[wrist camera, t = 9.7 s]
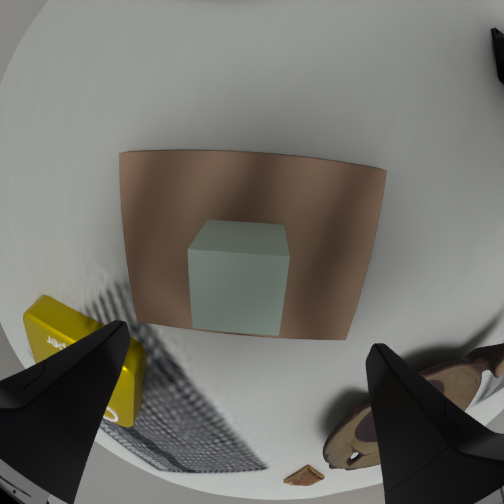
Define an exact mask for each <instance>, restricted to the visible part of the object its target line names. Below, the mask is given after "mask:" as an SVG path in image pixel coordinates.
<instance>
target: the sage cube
mask: <svg viewBox="0 0 504 504" xmlns="http://www.w3.org/2000/svg"><path fill="white" fill-rule="evenodd" d="M289 260H290V255H289V249H288V243H287V238H286V232H285V227H284V225H280V224H267V223H253V222H238V221H223V220H207V222H206V223H205V225H204V226H203V227H202V229H201V230H200V232H199V233H198V235H197V236H196V237H195V239H194V240H193V242H192V243H191V245H190V246H189V248H188V270H189V287H190V302H191V315H192V327H193V328H195V329H203V330H212V331H222V332H232V333H243V334H256V335H271V336H279V332H280V325H281V318H282V311H283V305H284V297H285V290H286V283H287V275H288V268H289Z"/></svg>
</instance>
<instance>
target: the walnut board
mask: <svg viewBox="0 0 504 504" xmlns="http://www.w3.org/2000/svg"><path fill="white" fill-rule="evenodd" d="M119 171H120V195H121V210H122V223H123V233H124V242H125V251H126V258H127V265H128V272H129V279H130V285H131V291H132V296H133V302H134V307H135V312H136V317H137V321H140V322H146V323H152V324H158V325H164V326H170V327H177V328H184V329H191V330H199V331H207V332H216V333H225V334H235V335H246V336H258V337H272V338H290V339H315V340H346V338H347V335H348V332H349V329H350V326H351V323H352V320H353V317H354V313H355V310H356V307H357V304H358V300H359V297H360V294H361V290H362V287H363V283H364V279H365V276H366V272H367V268H368V264H369V260H370V256H371V252H372V248H373V243H374V239H375V234H376V230H377V225H378V220H379V215H380V209H381V204H382V198H383V192H384V186H385V180H386V173H387V171H386V170H383V169H380V168H375V167H370V166H365V165H359V164H353V163H347V162H341V161H334V160H327V159H320V158H312V157H304V156H295V155H285V154H274V153H261V152H246V151H226V150H148V151H129V152H123V153H119ZM207 220H223V221H238V222H253V223H267V224H280V225H284V227H285V232H286V238H287V243H288V249H289V255H290V260H289V268H288V275H287V283H286V290H285V297H284V305H283V311H282V318H281V325H280V332H279V336H271V335H256V334H243V333H232V332H222V331H212V330H203V329H195V328H193V327H192V315H191V302H190V287H189V270H188V248H189V246H190V245H191V243H192V242H193V240H194V239H195V237H196V236H197V235H198V233H199V232H200V230H201V229H202V227H203V226H204V225H205V223H206V222H207Z"/></svg>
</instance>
